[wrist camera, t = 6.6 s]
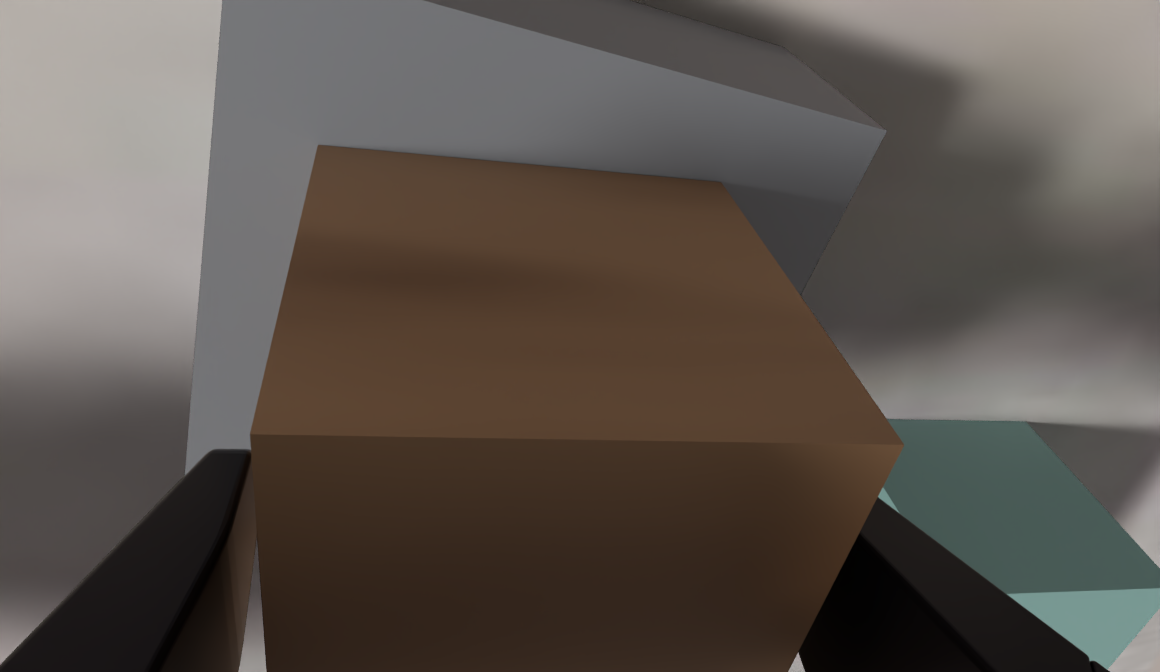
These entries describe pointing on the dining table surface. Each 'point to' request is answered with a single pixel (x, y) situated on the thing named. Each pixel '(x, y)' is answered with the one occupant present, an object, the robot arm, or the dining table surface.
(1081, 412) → the dining table surface
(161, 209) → the dining table surface
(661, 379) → the walnut cube
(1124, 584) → the teal cube
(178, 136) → the dining table surface
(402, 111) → the slate base block
